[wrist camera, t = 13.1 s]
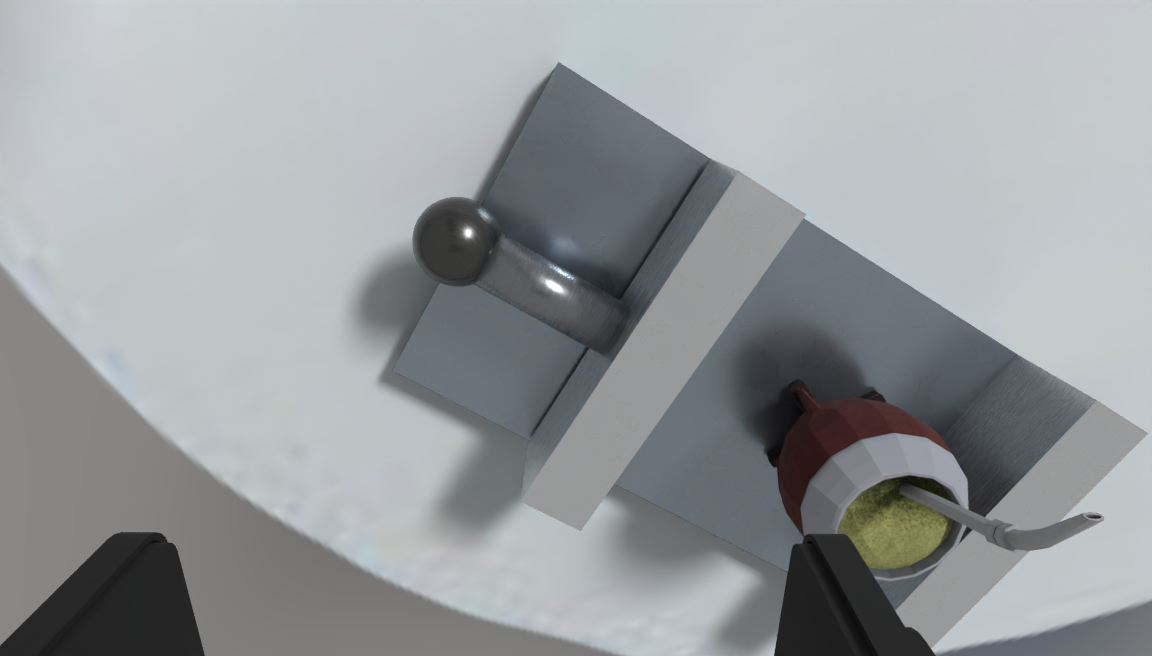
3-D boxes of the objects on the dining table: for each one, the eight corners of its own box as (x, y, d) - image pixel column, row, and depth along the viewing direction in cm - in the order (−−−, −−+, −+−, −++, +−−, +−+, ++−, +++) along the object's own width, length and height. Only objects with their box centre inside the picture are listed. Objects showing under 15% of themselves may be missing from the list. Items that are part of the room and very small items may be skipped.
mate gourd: (794, 509, 34) (956, 806, 20) (717, 399, 31) (836, 646, 17) (925, 436, 32) (1200, 700, 18) (853, 316, 30) (1103, 511, 16)
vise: (400, 358, 32) (360, 419, 26) (559, 63, 28) (556, 54, 21) (863, 597, 38) (920, 694, 31) (1061, 383, 33) (1173, 449, 27)
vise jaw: (355, 356, 30) (317, 402, 26) (519, 36, 25) (508, 23, 21) (579, 470, 32) (580, 530, 28) (767, 195, 28) (806, 214, 23)
